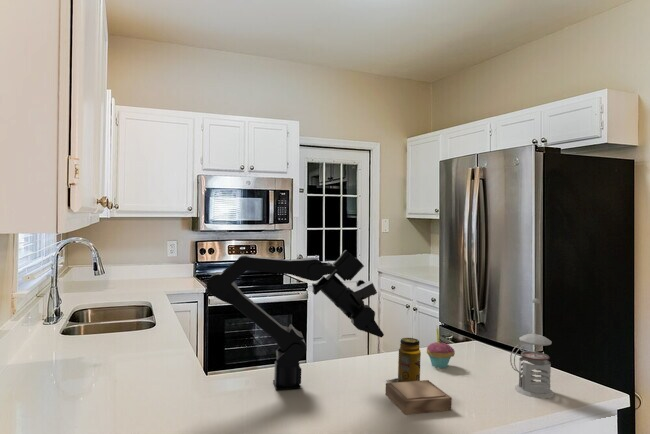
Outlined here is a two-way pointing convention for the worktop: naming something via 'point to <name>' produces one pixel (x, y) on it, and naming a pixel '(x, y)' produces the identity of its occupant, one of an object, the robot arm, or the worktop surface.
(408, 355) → the condiment
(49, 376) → the worktop surface
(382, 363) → the worktop surface
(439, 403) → the walnut base
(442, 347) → the cupcake
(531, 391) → the french press
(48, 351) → the worktop surface
